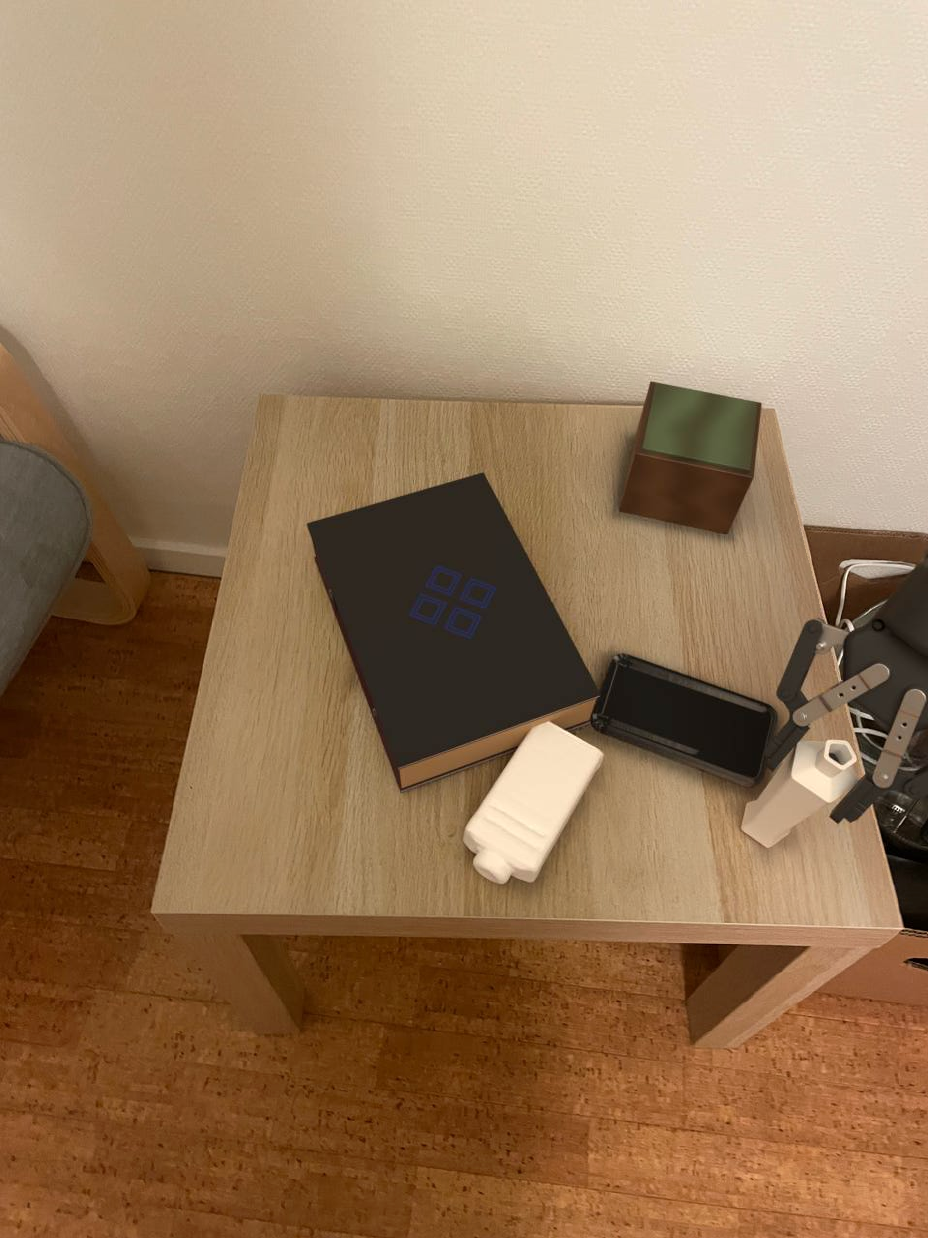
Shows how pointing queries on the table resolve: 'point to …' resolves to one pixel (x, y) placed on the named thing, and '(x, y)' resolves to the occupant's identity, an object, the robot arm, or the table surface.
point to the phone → (685, 719)
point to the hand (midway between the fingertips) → (802, 790)
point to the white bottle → (530, 804)
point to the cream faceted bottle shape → (800, 789)
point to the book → (448, 629)
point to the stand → (692, 457)
